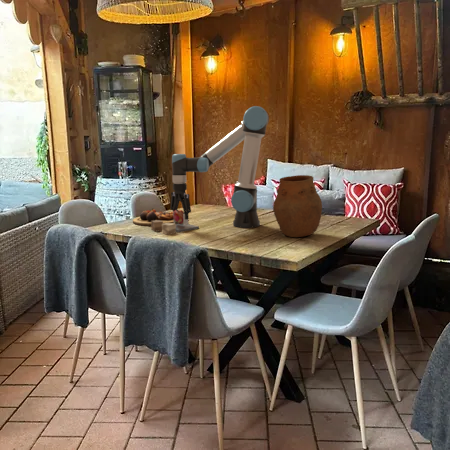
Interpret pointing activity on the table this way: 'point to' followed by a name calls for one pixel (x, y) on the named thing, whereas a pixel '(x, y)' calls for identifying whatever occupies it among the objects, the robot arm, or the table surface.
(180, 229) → the slate mat
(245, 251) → the table surface
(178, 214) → the flower
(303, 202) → the pot
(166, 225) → the beech block
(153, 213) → the wooden plate with food
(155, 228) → the walnut block
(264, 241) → the table surface
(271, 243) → the table surface
